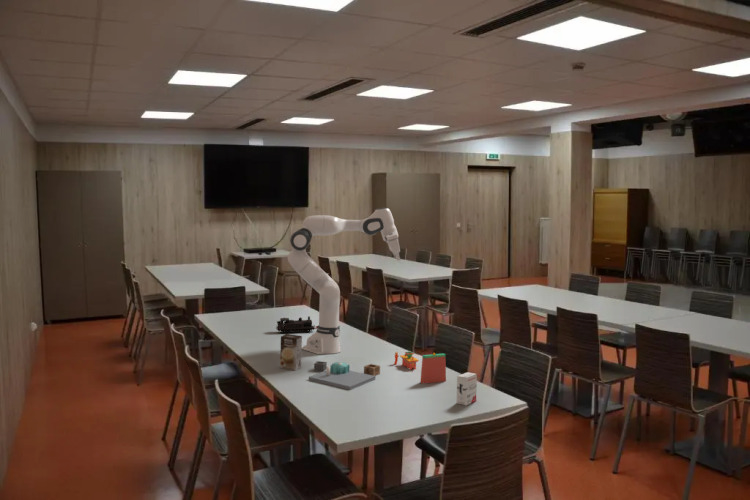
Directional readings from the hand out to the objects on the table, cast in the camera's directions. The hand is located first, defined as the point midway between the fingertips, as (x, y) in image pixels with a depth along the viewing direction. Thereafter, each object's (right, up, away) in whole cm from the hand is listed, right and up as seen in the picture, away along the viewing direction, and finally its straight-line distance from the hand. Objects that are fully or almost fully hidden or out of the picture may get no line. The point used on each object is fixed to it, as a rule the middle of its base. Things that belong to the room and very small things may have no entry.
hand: (397, 259), depth 327 cm
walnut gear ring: (-14, -55, -42) cm, 71 cm away
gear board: (-28, -56, -52) cm, 81 cm away
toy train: (-63, -47, +45) cm, 90 cm away
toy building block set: (+8, -56, -37) cm, 67 cm away
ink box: (+26, -59, -80) cm, 103 cm away
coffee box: (-55, -54, -35) cm, 84 cm away
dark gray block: (-40, -54, -38) cm, 77 cm away
